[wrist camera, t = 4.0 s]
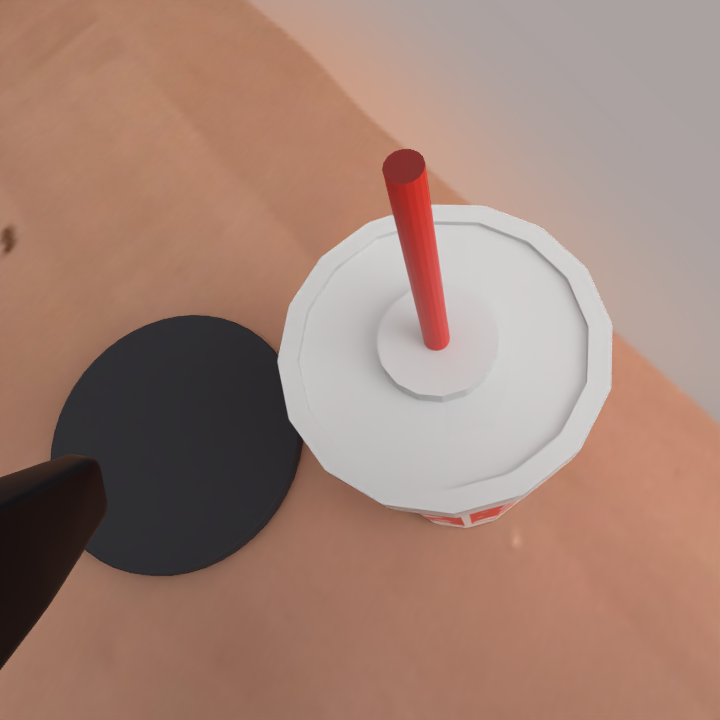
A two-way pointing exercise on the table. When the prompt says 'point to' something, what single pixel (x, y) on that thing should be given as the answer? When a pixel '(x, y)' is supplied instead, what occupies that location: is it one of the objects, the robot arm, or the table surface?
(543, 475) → the beverage cup
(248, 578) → the table surface
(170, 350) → the coaster
